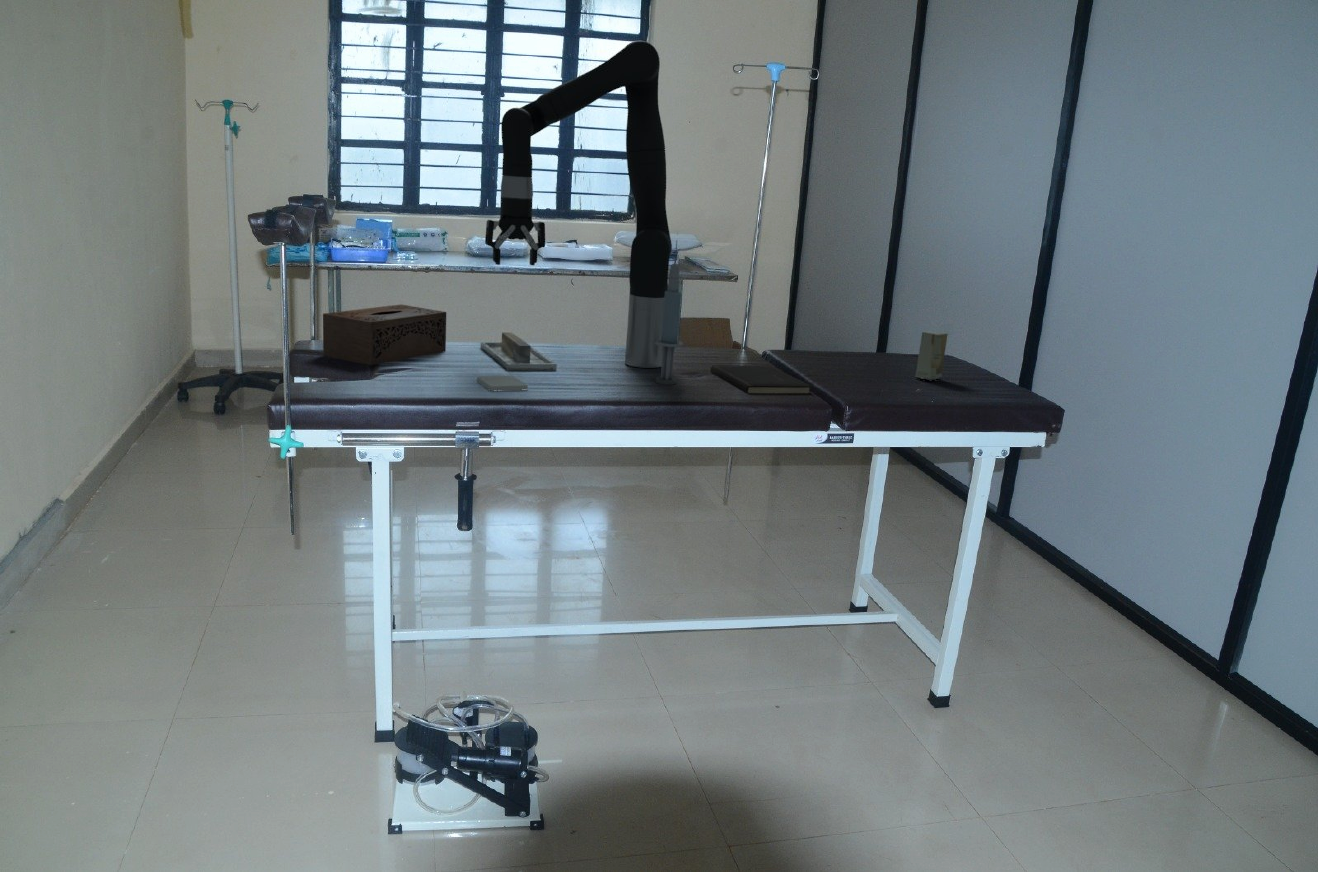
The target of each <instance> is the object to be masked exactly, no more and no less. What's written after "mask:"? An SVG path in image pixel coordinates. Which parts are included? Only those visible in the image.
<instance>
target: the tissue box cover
mask: <svg viewBox="0 0 1318 872" xmlns="http://www.w3.org/2000/svg"><path fill="white" fill-rule="evenodd" d="M446 340H447V311H442V310H437V309H432V308H431V309H430V308H425V307H420V306H419V307H418V306H412V305H408V304H401V303H400V304H393V305H386V306H385V305H384V306H383V305H382V306H378V307H376V306H375V307H370V308H368V307H367V308H360V309H352V310H342V311H333V312H327V313H326V312H325V313H322V341H323V342H322V352H323V353H322V356H323V357H326V358H327V357H328V358H333V359H338V360H342V361H347V362H352V363H358V364H363V365H366V366H367V365H368V366H375V365H379V364H384V363H385V364H387V363H391V362H396V361H402V360H406V359H407V360H408V359H412V358H417V357H421V356H422V357H424V356H429V355H435V354H438V353H439V354H440V353H444V352H443V351H446V349H447V348H446V346H447V345H446V344H447V343H446V342H447V341H446Z"/></svg>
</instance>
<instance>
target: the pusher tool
mask: <svg viewBox="0 0 1318 872" xmlns="http://www.w3.org/2000/svg"><path fill="white" fill-rule="evenodd" d="M501 342H502V347H501V348H502V349H503V350H504V351H506V352H507V353H508V354H509V355H510V356H512V357H513V358H514V359H515V360H517V361H518V362H519V363H530V349H531V347H532V346H531V345H530V344H529V343H527V342H526V341H525V340H523V339H522V338H521V337H519V335H516V334H515V333H513V332H502V331H501Z"/></svg>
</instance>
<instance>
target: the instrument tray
mask: <svg viewBox="0 0 1318 872" xmlns="http://www.w3.org/2000/svg"><path fill="white" fill-rule="evenodd" d="M501 347H502V341H501V342H498V341H497V342H496V341H495V342H494V341H488V342H487V341H485V342H483V341H481V342H480V349H481V350H482V351H483V352H485V353H486V354H487V355H488V356H489V357H491V358H492V359H493V360H494V361H495V362H496V363H497V364H499V365H500V366H501V367H503V368H504V369H505V370H506V371H508V372H509V371H511V372H513V371H514V372H518V371H519V372H523V371H524V372H526V371H528V372H529V371H535V372H537V371H542V372H543V371H557V365H558V364H557V363H556V362H554V361H553V360H551V359H550V358H548V357H547V356H546V355H544V354H543V353H541V352H540V351H538V349H535V348H534V347H533V346H531V349H530V363H519V362H518V361H517V360H515V359H514V358H513V357H512V356H510V355H509V354H508V353H507V352H506V351H504V350H503V349H502V348H501Z"/></svg>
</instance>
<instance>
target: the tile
mask: <svg viewBox="0 0 1318 872" xmlns="http://www.w3.org/2000/svg"><path fill="white" fill-rule="evenodd" d="M476 381H477V382H478V383H479V384H480V385H481V384H482V385H481V386H482V387H484V388H485V387H486V389H487V388H488V389H489V390H490V392H491V391H492V392H495V391H494V390H497V391H496V392H499V391H498V390H522V389H527V390H528V388H529V387H528V386H529V385H528V384H526V383H525V382H523V381H521V380H520V379H519V378H517V377H515V376H514V375H487V376H484V375H483V376H476ZM488 389H487V390H488ZM489 390H488V391H489Z"/></svg>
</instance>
